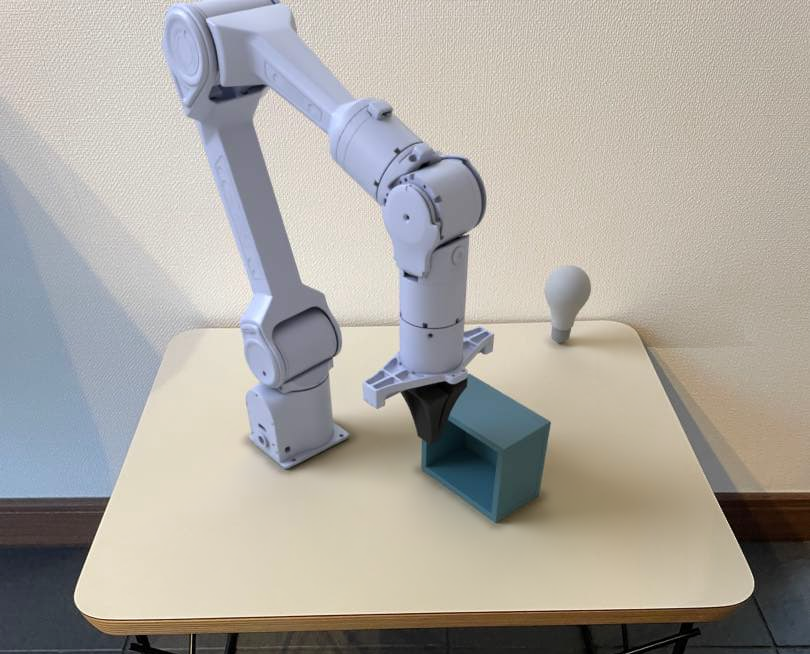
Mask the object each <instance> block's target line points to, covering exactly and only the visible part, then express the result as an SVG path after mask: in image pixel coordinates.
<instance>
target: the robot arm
mask: <svg viewBox="0 0 810 654" xmlns="http://www.w3.org/2000/svg"><path fill="white" fill-rule="evenodd" d="M161 48H162V51H163V55H164V58H165V60H166V63H167V67H168V69H169V72H170V76H171V78H172V81H173V84H174V87H175V90H176V93H177V95H178V98H179V101H180V104H181V106H182V110H183V112H184V115H185V116H186V117H187V118H188V119H191V120H194V123H195V126H196V129H197V132H198V135H199V138H200V141H201V144H202V148H203V150H204V153H205V156H206V158H207V162H208V164H209V168H210V171H211V173H212V177H213V179H214V182H215V185H216V188H217V191H218V194H219V197H220V200H221V202H222V205H223V208H224V212H225V215H226V217H227V221H228V223H229V226H230V229H231V232H232V235H233V238H234V241H235V243H236V244H235V245H236V247H237V249H238V253H239V256H240V259H241V261H242V265H243V267H244V271H245V274H246V276H247V278H248V282H249V285H250V288H251V291H252V297H251V300H250V301H249V303H248V305H247V307H246V308H245V310H244V312H243V313H242V315H241V317H240V319H239V321H238V326H239V328H240V332H241V335H242V340H243V352H244V354H243V355H244V358H245V361H246V364H247V366H248V368H249V370H250V372H251V373H252V375H253V376H254V377H255V378H256V379H257V380H258V381H259V382H258V383H257V384H255V385H254V386H253V387H251V388H250V389H249V390H247V392H245V393H246V394H245V405H246V409H247V410H246V411H247V416H248V421H249V426H250V434H249V436H248V437H249V441H251V442H252V443H253V444H255V446H257V447H258V448H259V449H261V450H262V451H263V452H264V453H265V454H266V455H267V456H269V457H270V458H271V459H272V460H273V461H275V462H276V463H277V464H279V466H281V468H283V469H285V470H287V469H288V470H289V469H290V468H292V467H294V466H296V465H299V464H301V463H302V462H304V461H306V460H307V459H310V458H312V457H314V456H316V455H318V454H320V453H321V452H324V451H326V450H327V449H329V448H331V447H333V446H335V445H337V444H339V443H341V442H343V441H345V440H347V439H349V437H350V434H349V432H348V431H347V430H345V429H344V428H342V427H341V426H339V424H337V423H336V422H334V416H333V415H334V414H333V405H332V404H333V403H332V392H331V391H332V390H331V381H330V371H331V369H333V368H334V366H335V365H334V358H335V357H337V356H339V354H340V353H341V351H342V348H343V336H342V330H341V327H340V325H339V322H338V321H337V319H336V317H335V316H334V315H333V313H332V311H331V309H330V307H329V304H328V302H327V299H326V295H325V293H323V292H321V291H320V290H318V289H316V288H313V287H311V286H309V285H307V284H304V283H303V282H302V279H301V276H300V272H299V269H298V266H297V262H296V259H295V256H294V251H293V249H292V246H291V242H290V240H289V236H288V233H287V230H286V229H287V228H286V226H285V223H284V220H283V216H282V213H281V210H280V207H279V203H278V201H277V197H276V193H275V191H274V187H273V184H272V180H271V177H270V174H269V171H268V167H267V164H266V161H265V157H264V153H263V151H262V148H261V147H262V146H261V143H260V141H259V138H258V134H257V131H256V127H255V124H254V116H255V114H256V112H257V111H256V110H257V108H258V105H259V103H260V101H261V100H262V99H263V98H264V97H265V96H266V95H267V94H268V92H269V90H270V89H271V90H272V91H273V92H275V93H276V95H279V96H280V97H281V98H282V99H283V100H284V101H285V102H287V103H288V104H289V105H291V106H292V107H293V108H294V109H295V110H297V111H298V112H299V113H300V114H302V116H304V117H305V118H306V119H308V120H309V121H310V122H312V123H313V124H314V125H315V126H316V127H317V128H318V129H320V130H321V132H324V134H326V135H327V136H328V149H329V154H330V157H331V159H332V160H333V161H334V163H335V164H337V166H339V167H340V168H341V170H343V171H344V172H345V174H347V175H348V176H349V177H350V178H351V179H352V180H353V181H354V182H355V183H356V184H357V185H358V186H359V187H360V188H361V189H363V191H365V193H366V194H368V196H369V197H370V198H372V199H373V200H374V201H375V202H376V203H377V204H378V205H379V207H381V214H382V222H383V224H384V227H385V229H386V231H387V234H388V236H389V237H390V238H389V239H390V241H391V243H392V249H393V250H392V251H393V260H394V261H395V265H396V267H397V268H398V292H399V293H398V303H399V304H398V307H399V308H398V312H399V313H398V316H399V317H398V318H399V319H398V322H399V323H398V325H399V330H398V331H399V332H398V333H399V334H398V335H399V351H398V352H397V353H395V354H394V355H393V356H392V357H391V358H390V359H389V360H388V361H387V362H386V363H385V364H384V365H383V366H382V367H381V368H380V369H379V370H378V371H376V373H374V374H373V375H372V376H371V377H369V378H367V379H365V380H363V381H362V400H363V401H365V402H366V403H367V404H368V405H369V406H371V407H373V409H376V410H379V409H381V408H383V407H385V406H386V400H388V399H390V398H392V397H393V396H394V397H395V396H396V395H398V394H401V396H402V397H403V399H404V401H405V403H406V405H407V407H408V409H409V412H410V415H411V417H412V420H413V424H414V428H415V430H416V434H417V437H418V438H419V439H421V441H422V440H424V441H425V442H427V443H428V444H430V445H432V444H434V443H436V442H437V441H439V440H440V439H441V437H442V434H443V431H444V428H445V426H446V423H447V420H448V418H449V415H450V413H451V410H452V408H453V406H454V405H455V403H456V401H457V399H458V398H459V396H460V395H461V394H462V392H463V391H464V390H465V389H466V387H467V381H468V378H467V374H469V373H468V369H467V366H468V365H469V364H470V363H471V362H472V361H473V359H475V358H476V356H477V355H478V354H482V355H485V356H486V355H489V354H491V353H493V351H494V343H495V333H493V332H492V331H490V330H488V329H486V328H484V327H483V326H481V325H480V326H476V327H474V328H472V329H469V330H465V318H466V303H467V287H468V285H467V284H468V268H469V253H470V252H469V251H470V234H468V233H469V232H471V231H472V230H474V229H475V228H477V227H478V226H479V225H480V224H481V223H482V221H483V219H484V217H485V214H486V211H487V203H488V200H487V190H486V186H485V184H484V181H483V178H482V177H481V174H480V173H479V171H478V170H477V168H476V167H475V166H474V165H473V164H472V162H471V161H470V159H469V158H468V157H466V156H464V155H462V154H459V153H450V154H445V153H443V152H442V151H441V150H440V149H439V150H434V148H433V147H432V146H430V145H429V144H428V143H427V142H425V141H423V140H422V139H421V138H420V137H419V136H418V135H417V134H416V133H415V132H414V131H413V130H411V129H410V128H409V127H408V126H407V124H405V123H404V122H403V121H402V119H399V117H397V116H396V115H395V114H394V113H393V111H394V107H393V106H392V105H391V104H390V103H389V102H388V101H387V100H386V99H384V98H381V99H378V98H377V97H373V96H370V97H369V96H367V97H362V98H358V99H357V98H356V97H354V95H353V94H352V93H351V92H350V91H349V90H348V89H347V87H346V86H345V85H344V84H343V83H342V82H341V81H340V80H339V79H338V78H337V77H336V76H335V75H334V73H333V72H332V71H331V70H330V69H329V68H328V66H327V65H325V63H324V62H323V61H322V60H321V59H320V57H319V56H318V55H317V54H316V53H315V52H314V51H313V50H312V49H311V48H310V47H309V45H308V44H307V43H306V42H305V41H304V40H303V39H302V38H301V37H300V35H299V34H298V29H297V24H296V19H295V16H294V12H293V10H292V9H291V8H290V7H289V6H287V5H285V4H284V3H283V2H281V0H199V1H194V2H184V1H182V2H176V3H173V4H172V5H171V6H170V7H169V8H168V9H167V13H166V15H165V20H164V27H163V32H162V39H161Z"/></svg>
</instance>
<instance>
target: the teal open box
mask: <svg viewBox="0 0 810 654" xmlns="http://www.w3.org/2000/svg"><path fill="white" fill-rule="evenodd" d="M467 378H468V381H467V387H466V389H465V390H464V391H463V392H462V394H461V395H460V396H459V398H458V399H457V401H456V403H455V405H454V406H453V408H452V410H451V413H450V415H449V418H448V420H447V423H446V426H445V428H444V431H443V434H442V437H441V439H440V440H439V441H437V442H436V443H434V444H432V445H430V444H428V443H427V442H425V441H424V440H422V439H421V466H420V468H421V470H422V471H423V472H424V473H425V474H427V475H428V476H430V477H431V478H433V479H434V480H436V481H437V482H438V483H440V484H441V485H442V486H444V487H445V488H447V490H449V491H450V492H452V493H454V494H455V495H456V496H457V497H459V498H460V499H462V500H463V501H465V502H466V503H467V504H469V505H470V506H471V507H473V508H474V509H476V511H479V512H480V513H481V514H483V515H484V516H485V517H487V518H488V519H490V520H491V521H492V522H494V523H498V522H499V521H501V520H503V519H504V518H506V517H507V516H509V515H510V514H512V513H514V512H515V511H516V510H518V509H520V508H521V507H522V506H524V505H526V504H527V503H529V502H531V500H533V499H535V498H536V497H539V495H540V492H541V488H542V487H541V485H542V481H543V475H544V468H545V461H546V455H547V449H548V443H549V436H550V432H551V425H552V422H551V420H549V419H547V418H545V417H544V416H542V415H540V414H539V413H538V412H535V411H534V410H531V409H530V408H528V407H527V406H525V405H523V404H522V403H520V402H518V401H516V400H515V399H513V398H511V397H510V396H508V395H506V394H505V393H503V392H502V391H500V390H498V389H497V388H495V387H494V386H491V385H490V384H488V383H486V382H485V381H483V380H481V379H480V378H478V377H476V376H475V375H473V374H471V373H467Z"/></svg>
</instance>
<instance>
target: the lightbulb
mask: <svg viewBox="0 0 810 654" xmlns="http://www.w3.org/2000/svg"><path fill="white" fill-rule="evenodd" d="M545 281H546V282H545V284H544V296H545V299H546V302H547V305H548V307H549V311H550V318H551V319H550V324H551V333H550V334H551V336H550V337H551V339H552V341H554V342H555V343H557V344H562V343H564V342H565V343H566V342H567V341H568V340H569V339H570V335H571V332H572V328H574V325H575V321H576V318H577V316H578V314H579V312H580V311H581V310H582V309H583V307H584V306H585V305H586V303H587V302H588V301H589V298H590V296H591V292H592V284H591V280H590V277H589V275H588V274H587V272H586V271H585V270H584V269H582V268H581V267H580V266H579V267H578V266H576V265H571V264H568V265H562V266H560V267H558V268H556V269H554V270H553V271H552V272H551V273H550V275H549V276H548V277H547V279H546V280H545Z"/></svg>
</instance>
